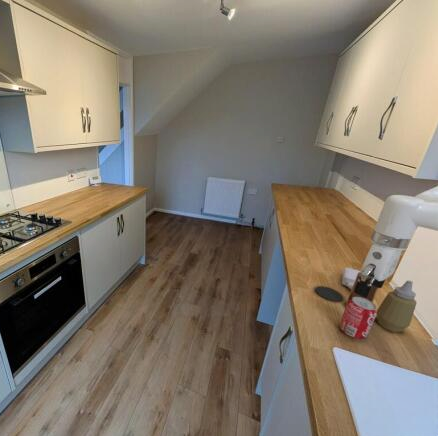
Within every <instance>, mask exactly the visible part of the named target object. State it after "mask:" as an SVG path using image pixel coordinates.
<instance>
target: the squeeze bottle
mask: <svg viewBox="0 0 438 436" xmlns="http://www.w3.org/2000/svg"><path fill="white" fill-rule="evenodd" d="M413 284H414V283H413V281H412V280H409V279H407V280H406V281H405V282H404V284H403V285H401V286H395V288H394V290H392V291H388V292H387V294H386V296H385V297H384V299H383V301H382V302H381V303H380V305H379V306H378V308H377V309H376V312H377V314H376V320H377V323H378V325H380V326H381V327H382V328H384V329H386V330H388V331H389V332H394V333H401V332H402V331H404V330H405V329H407V328H408V327H410V325H411V322H412V319H413V316H414V313H415V310H416V306H417V300H416V299H415V297H416V296H417V295H416V293H415V292H414V291H413Z"/></svg>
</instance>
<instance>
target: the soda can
mask: <svg viewBox="0 0 438 436" xmlns="http://www.w3.org/2000/svg"><path fill="white" fill-rule="evenodd" d="M344 308H345V309H344V310H343V314H342V317H341V319H340V323H339V328H340V329H341V330H342V332H343V333H344V334H345V335H347V336H348V337H350V338H353V339H358V340H364V339H366V337H368V334H369V332H370V330H371V329H372V326H373V323H374V321H375V319H376V318H377V306H376V304H375V303H374V302H373V303H372V302H371V301H369V300H367V299H364V298H361V297H353V298H352V300H350V301H349V302H348V304H347V306H346V305H345V307H344Z"/></svg>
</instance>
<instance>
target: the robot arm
mask: <svg viewBox="0 0 438 436" xmlns="http://www.w3.org/2000/svg"><path fill="white" fill-rule="evenodd" d="M417 227H419V228H423V229H429V230H433V231H437V232H438V185H437V186H435V187H432V188H430V189H427V190H425V191H422V192H421V193H419V194H416V195H415V196H410V195H404V194H403V195H402V194H392V195H389V196H388V197H387V198H386V199H385V201H384V202H383V206H382V209H381V211H380V213H379V215H378V218H377V221H376V223H375V226H374V229H373V231H372V233H371V236H370V238H369V242H371V243H372V245H371V246H370V249H369V250H368V252H367V254H366V257H365V259H364V261H363V263H362V266H361V269H360V271H361V273H362V274H361V277H360V278H359V280H358V282H357V284H356V287H355V289H354V293H356V294H358V295H360V296H362V297H365V298H367V297H368V295H369V293H370V290H371V288H372V286H371V285H373V286H375V287H378V288H379V289H382V288H383V286H384V284H385V281H386V280H387V279H389V278H390V277H391V276H393V274H394V273H395V270H396V268H397V266H398V263H399V261H400V258H401V255H402V252H403V251H406V250H407V249H408V246H409V244H410V242H411V240H412V238H413V236H414V234H415V231H416V229H417ZM370 274H372V275H370ZM368 277H369V278H370V279H367V278H368Z"/></svg>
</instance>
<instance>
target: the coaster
mask: <svg viewBox="0 0 438 436" xmlns="http://www.w3.org/2000/svg"><path fill="white" fill-rule="evenodd" d="M315 293H316V294H317V295H318V296H319V297H321V298H322V299H325V300H327V301H330V302H335V303H336V302H337V303H338V302H341V301H343V299H344V297H343V295H342V294H341V293H340V292H338V291H337V290H335V289H333V288H330V287H327V286H316V288H315Z"/></svg>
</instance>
